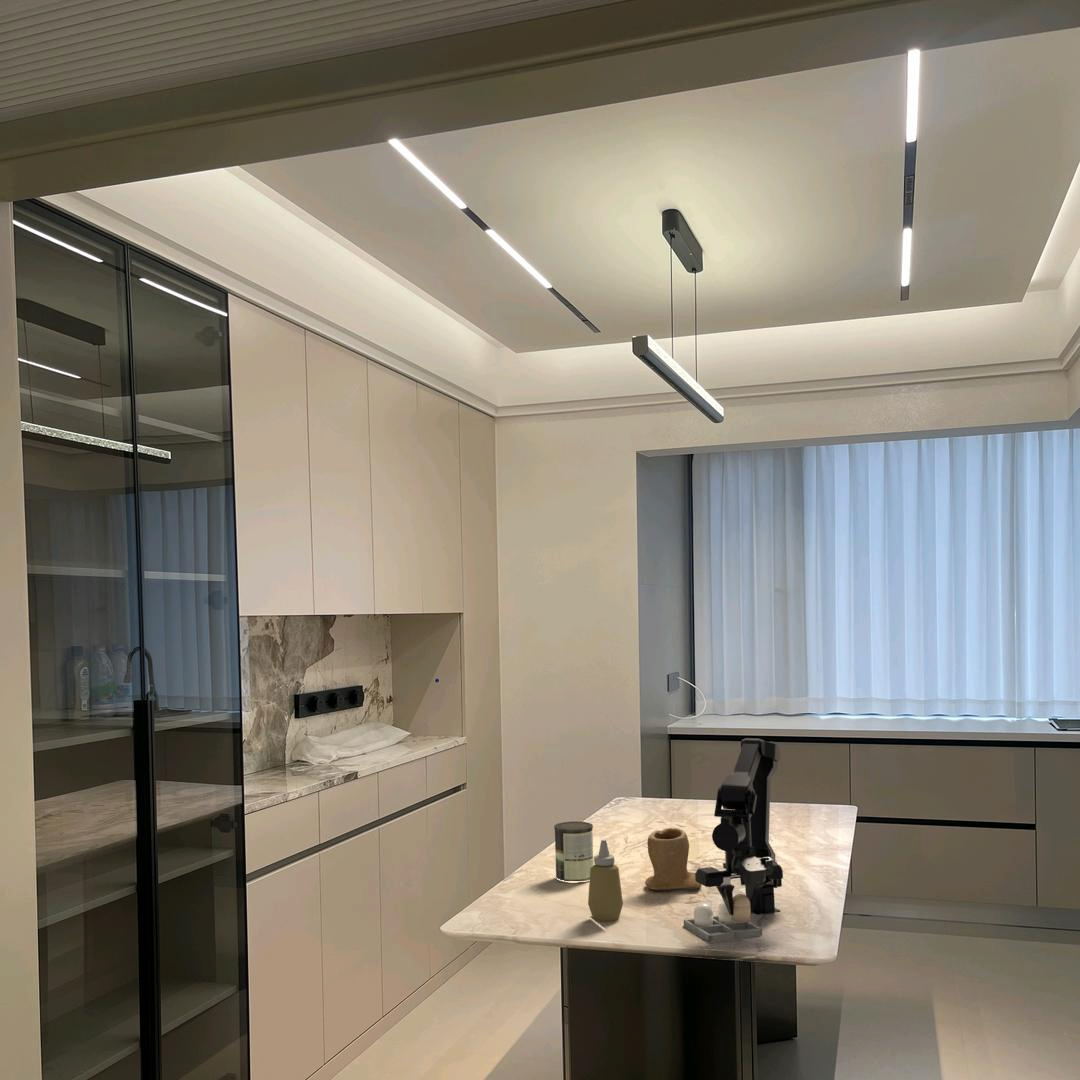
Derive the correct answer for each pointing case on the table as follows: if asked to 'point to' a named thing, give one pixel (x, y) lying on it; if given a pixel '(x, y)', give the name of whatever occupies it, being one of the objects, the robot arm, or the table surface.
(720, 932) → the egg carton
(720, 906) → the white egg left
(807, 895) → the table surface
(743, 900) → the brown egg
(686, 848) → the stone cup
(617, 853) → the table surface
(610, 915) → the squeeze bottle
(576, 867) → the coffee can
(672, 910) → the table surface
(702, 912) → the white egg back
